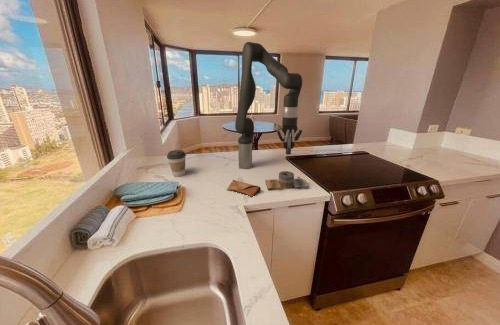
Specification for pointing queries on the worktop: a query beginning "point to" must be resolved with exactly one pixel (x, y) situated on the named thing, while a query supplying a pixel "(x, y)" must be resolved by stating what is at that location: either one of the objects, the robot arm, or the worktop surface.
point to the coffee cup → (177, 162)
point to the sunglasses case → (244, 188)
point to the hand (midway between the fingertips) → (288, 148)
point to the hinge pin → (289, 144)
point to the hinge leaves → (286, 182)
